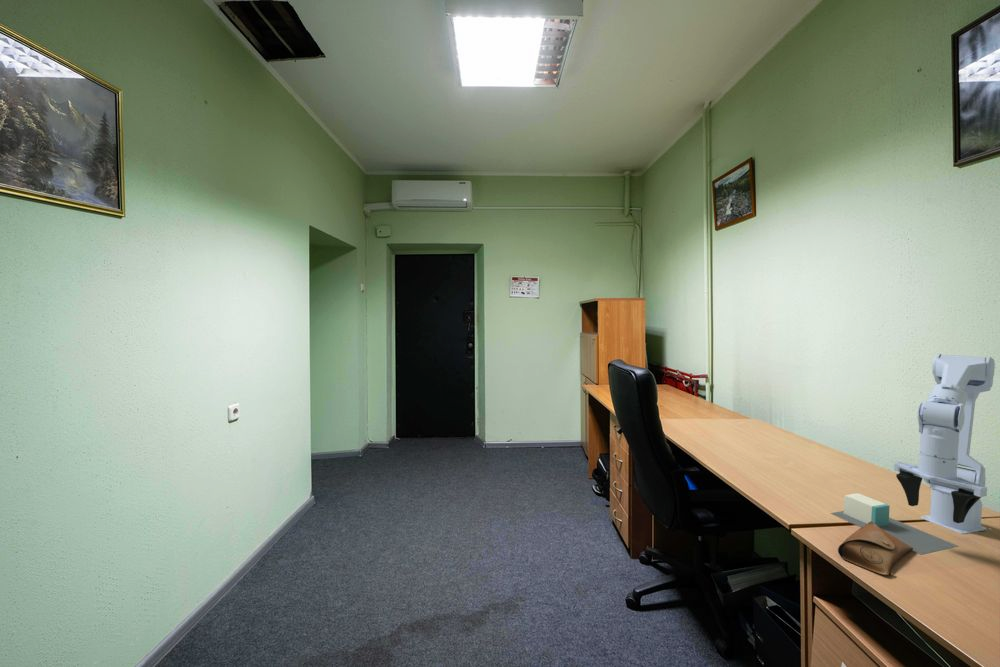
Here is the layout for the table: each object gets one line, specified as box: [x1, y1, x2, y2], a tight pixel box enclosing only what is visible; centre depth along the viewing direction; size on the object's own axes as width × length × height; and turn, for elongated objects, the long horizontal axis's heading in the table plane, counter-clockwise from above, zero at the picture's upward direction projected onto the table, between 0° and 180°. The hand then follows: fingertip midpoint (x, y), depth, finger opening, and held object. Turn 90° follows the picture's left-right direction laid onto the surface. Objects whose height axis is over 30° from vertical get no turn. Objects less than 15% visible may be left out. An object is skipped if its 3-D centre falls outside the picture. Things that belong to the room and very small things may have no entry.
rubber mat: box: [830, 510, 959, 556], centre depth 96 cm, size 13×18×1 cm
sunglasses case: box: [837, 521, 914, 576], centre depth 86 cm, size 18×7×7 cm, turn 121°
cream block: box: [843, 492, 890, 526], centre depth 100 cm, size 5×5×7 cm
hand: (934, 513), depth 87 cm, fingers open, 7 cm apart
